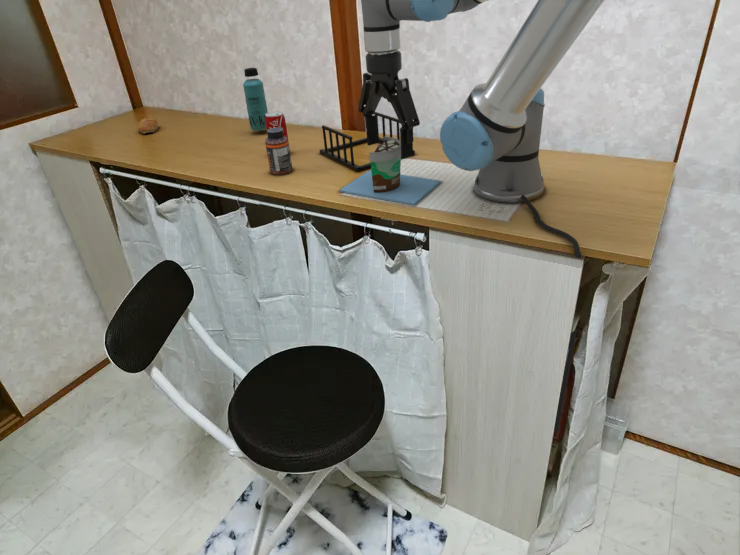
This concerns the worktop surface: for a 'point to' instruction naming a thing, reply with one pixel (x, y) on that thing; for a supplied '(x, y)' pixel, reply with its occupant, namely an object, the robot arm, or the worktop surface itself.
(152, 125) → the pastry
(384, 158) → the food container
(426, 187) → the drying mat
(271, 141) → the supplement bottle
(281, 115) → the soda can
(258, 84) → the beverage bottle
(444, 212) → the worktop surface
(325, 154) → the dish rack
